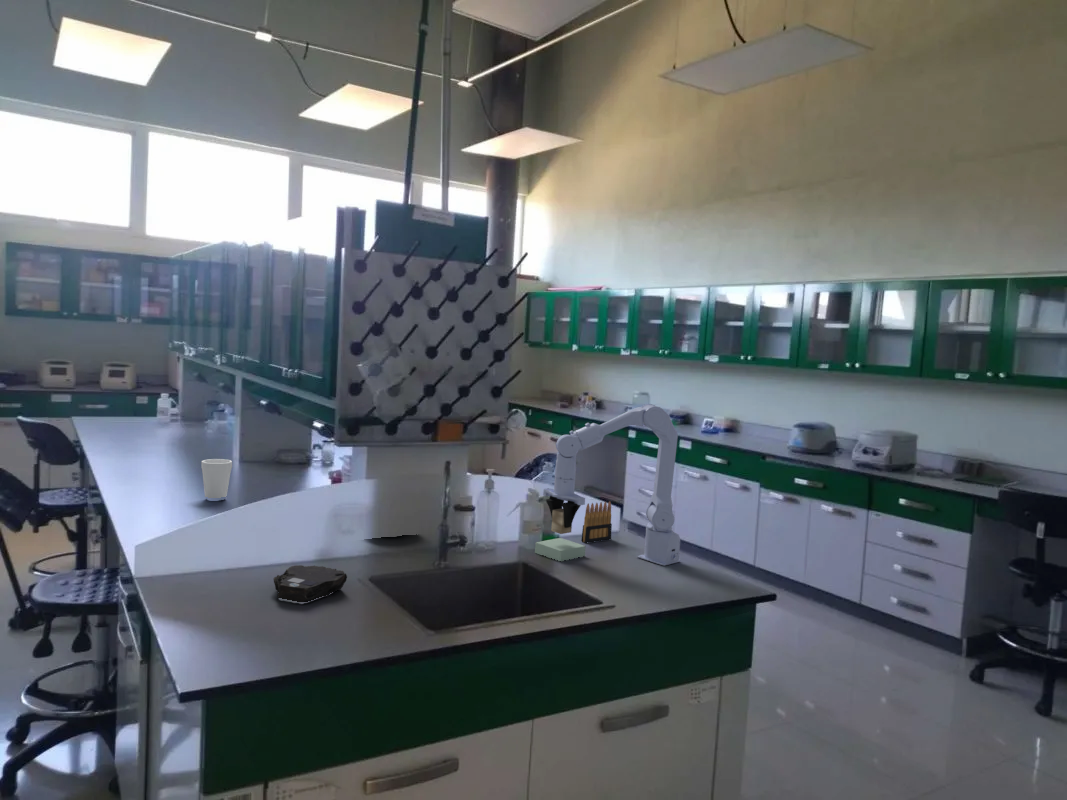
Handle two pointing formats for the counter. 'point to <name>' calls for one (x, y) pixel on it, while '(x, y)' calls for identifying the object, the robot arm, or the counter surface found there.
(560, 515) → the beech block
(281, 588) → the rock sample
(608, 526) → the ammunition clip
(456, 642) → the counter surface
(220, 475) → the foam cup
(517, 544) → the counter surface
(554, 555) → the sage base block
